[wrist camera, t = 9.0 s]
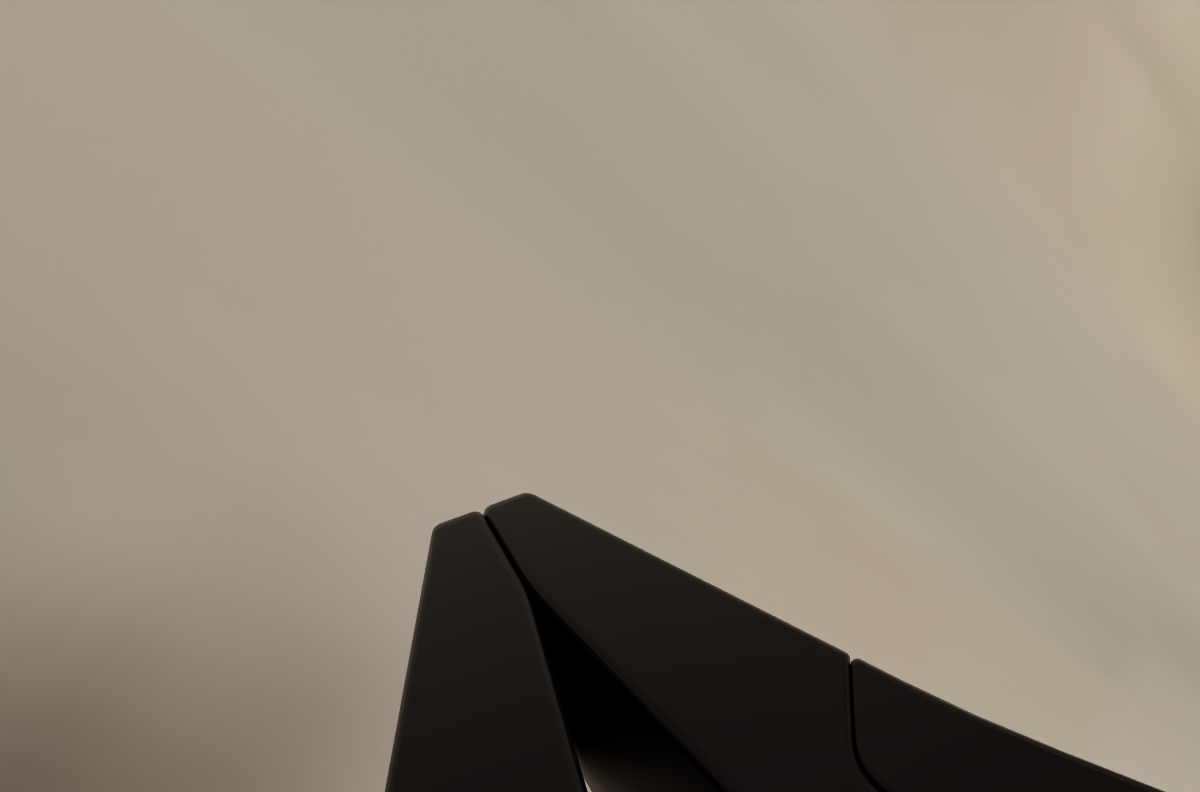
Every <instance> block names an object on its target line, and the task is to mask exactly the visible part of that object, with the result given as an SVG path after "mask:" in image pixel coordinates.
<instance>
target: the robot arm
mask: <svg viewBox="0 0 1200 792" xmlns="http://www.w3.org/2000/svg"><path fill="white" fill-rule="evenodd" d="M583 777H584V778H583ZM584 779H585V781H586V782H587V784H588V786H589V788H590V789H591V791H592V792H1165V791H1162V790H1159V789H1157V788H1154V787H1152V786H1149V785H1147V784H1144V783H1142V782H1139V781H1137V780H1134V779H1131V778H1129V777H1126V776H1124V775H1121V774H1119V773H1116V772H1114V771H1111V770H1109V769H1106V768H1103V767H1101V766H1098V765H1096V764H1093V763H1091V762H1088V761H1086V760H1083V759H1080V758H1078V757H1075V756H1073V755H1070V754H1068V753H1065V752H1063V751H1060V750H1058V749H1055V748H1053V747H1051V746H1048V745H1046V744H1043V743H1041V742H1039V741H1036V740H1034V739H1031V738H1029V737H1027V736H1024V735H1022V734H1019V733H1017V732H1015V731H1012V730H1010V729H1007V728H1005V727H1003V726H1000V725H998V724H995V723H993V722H991V721H988V720H986V719H983V718H981V717H979V716H976V715H974V714H972V713H970V712H968V711H965V710H963V709H961V708H959V707H957V706H955V705H953V704H951V703H949V702H946V701H944V700H942V699H940V698H938V697H936V696H934V695H932V694H930V693H927V692H925V691H923V690H921V689H919V688H917V687H915V686H913V685H911V684H908V683H906V682H904V681H902V680H900V679H898V678H896V677H894V676H892V675H890V674H888V673H886V672H884V671H882V670H880V669H878V668H876V667H874V666H872V665H870V664H869V663H867V662H865V661H863V660H861V659H854V660H853V661H852V662H851V665H850V657H849V655H848V654H847V653H846V652H844V651H842V650H840V649H838V648H836V647H834V646H832V645H830V644H828V643H826V642H824V641H822V640H820V639H818V638H816V637H814V636H812V635H810V634H808V633H806V632H804V631H802V630H800V629H798V628H796V627H794V626H792V625H790V624H788V623H787V622H785V621H783V620H781V619H779V618H777V617H775V616H773V615H771V614H769V613H767V612H765V611H763V610H761V609H759V608H757V607H755V606H753V605H751V604H749V603H747V602H745V601H743V600H741V599H739V598H737V597H735V596H733V595H731V594H729V593H727V592H725V591H723V590H721V589H719V588H717V587H715V586H713V585H711V584H709V583H707V582H705V581H703V580H701V579H700V578H698V577H696V576H694V575H692V574H690V573H688V572H686V571H684V570H682V569H680V568H678V567H676V566H674V565H672V564H670V563H668V562H666V561H664V560H662V559H660V558H658V557H656V556H654V555H652V554H650V553H648V552H646V551H644V550H642V549H640V548H638V547H636V546H634V545H632V544H630V543H628V542H626V541H624V540H622V539H620V538H618V537H616V536H614V535H612V534H611V533H609V532H607V531H605V530H603V529H601V528H599V527H597V526H595V525H593V524H591V523H589V522H587V521H585V520H583V519H581V518H579V517H577V516H575V515H573V514H571V513H569V512H567V511H565V510H563V509H561V508H559V507H557V506H555V505H553V504H551V503H549V502H547V501H545V500H543V499H541V498H539V497H537V496H535V495H533V494H530V493H523V494H520V495H517V496H514V497H512V498H509V499H506V500H503V501H501V502H498V503H495V504H492V505H490V506H488V507H487V508H486V509H485V511H484V515H482V514H481V513H479V512H471V513H468V514H465V515H462V516H460V517H457V518H454V519H451V520H448V521H446V522H443V523H440V524H438V525H437V526H436V527H435V528H434V529H433V532H432V536H431V541H430V547H429V552H428V558H427V563H426V569H425V574H424V580H423V585H422V591H421V596H420V602H419V607H418V613H417V618H416V624H415V629H414V635H413V640H412V645H411V651H410V656H409V662H408V667H407V673H406V678H405V684H404V689H403V695H402V700H401V706H400V711H399V717H398V722H397V728H396V733H395V739H394V744H393V750H392V755H391V761H390V766H389V772H388V777H387V782H386V788H385V792H588V791H587V788H586V784H585V781H584Z"/></svg>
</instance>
